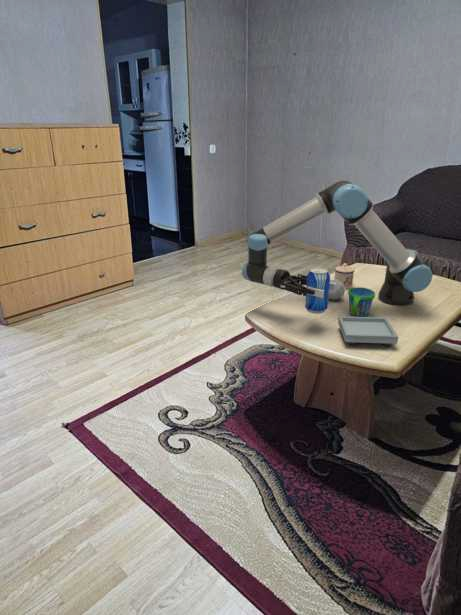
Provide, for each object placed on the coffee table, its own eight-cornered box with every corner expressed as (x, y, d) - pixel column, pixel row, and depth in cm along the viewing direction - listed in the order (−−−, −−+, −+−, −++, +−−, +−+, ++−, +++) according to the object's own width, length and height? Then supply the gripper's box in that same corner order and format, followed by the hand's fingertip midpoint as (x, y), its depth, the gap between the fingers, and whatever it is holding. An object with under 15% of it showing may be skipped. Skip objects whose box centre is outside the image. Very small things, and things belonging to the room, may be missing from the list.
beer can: (302, 306, 170) (304, 267, 163) (323, 305, 170) (326, 266, 164) (307, 315, 162) (310, 274, 156) (329, 314, 162) (333, 273, 156)
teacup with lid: (344, 291, 206) (347, 267, 202) (329, 286, 212) (331, 263, 208) (359, 285, 213) (362, 262, 209) (344, 280, 220) (346, 258, 215)
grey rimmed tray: (384, 329, 168) (386, 317, 166) (396, 349, 154) (398, 336, 152) (337, 328, 170) (338, 316, 167) (344, 347, 155) (346, 335, 153)
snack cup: (363, 324, 173) (366, 300, 169) (338, 317, 179) (341, 294, 175) (378, 311, 184) (381, 289, 180) (354, 305, 190) (357, 283, 186)
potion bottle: (341, 306, 193) (314, 300, 204) (352, 289, 196) (324, 284, 207) (334, 293, 187) (306, 288, 198) (345, 276, 191) (317, 272, 201)
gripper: (290, 279, 182) (341, 292, 169) (261, 294, 167) (314, 309, 154) (291, 262, 179) (342, 273, 166) (262, 276, 164) (316, 289, 151)
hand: (329, 290), depth 160 cm, fingers closed on beer can, 8 cm apart
